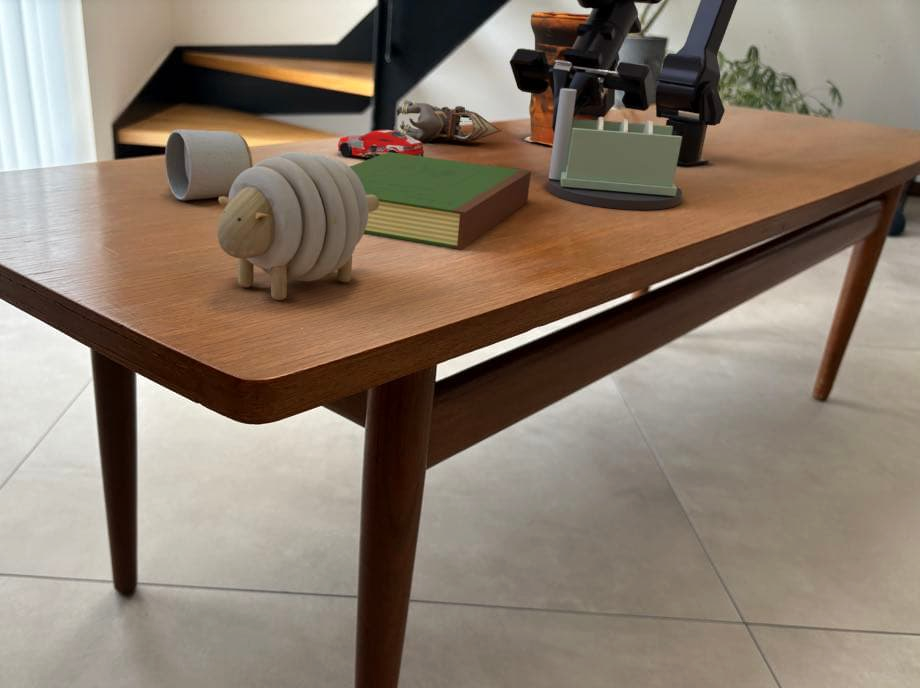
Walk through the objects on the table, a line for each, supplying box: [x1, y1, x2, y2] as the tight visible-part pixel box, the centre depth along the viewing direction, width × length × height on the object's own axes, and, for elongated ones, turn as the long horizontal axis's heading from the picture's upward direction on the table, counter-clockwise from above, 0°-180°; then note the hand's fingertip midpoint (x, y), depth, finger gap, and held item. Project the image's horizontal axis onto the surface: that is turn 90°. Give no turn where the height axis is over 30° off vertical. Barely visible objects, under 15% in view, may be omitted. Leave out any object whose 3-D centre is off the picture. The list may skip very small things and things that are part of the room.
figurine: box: [393, 99, 502, 143], centre depth 144 cm, size 20×6×17 cm
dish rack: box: [548, 89, 682, 196], centre depth 112 cm, size 16×10×11 cm, turn 81°
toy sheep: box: [216, 150, 379, 301], centre depth 74 cm, size 11×17×11 cm, turn 140°
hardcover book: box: [349, 152, 532, 250], centre depth 101 cm, size 25×19×4 cm
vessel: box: [524, 11, 598, 147], centre depth 145 cm, size 14×14×20 cm
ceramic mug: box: [164, 128, 254, 201], centre depth 102 cm, size 11×8×8 cm
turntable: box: [547, 177, 683, 211], centre depth 114 cm, size 17×17×1 cm
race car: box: [337, 129, 425, 159], centre depth 127 cm, size 13×5×4 cm, turn 60°
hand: (554, 129), depth 113 cm, fingers closed
